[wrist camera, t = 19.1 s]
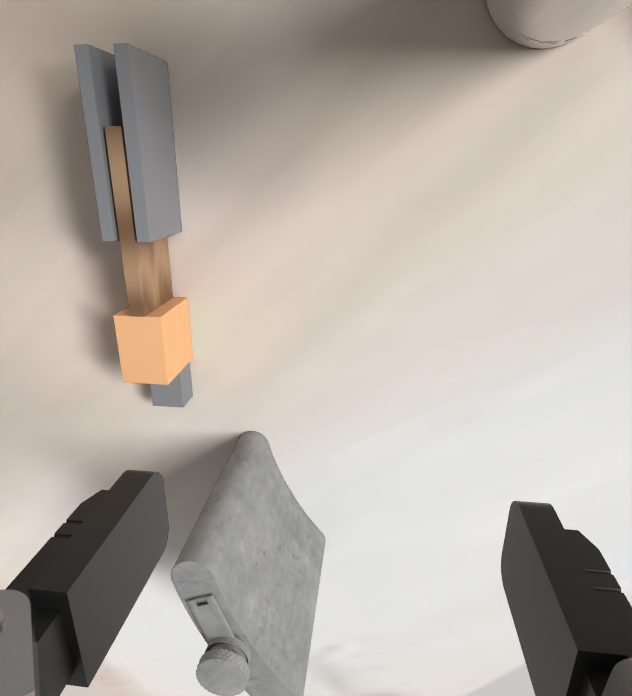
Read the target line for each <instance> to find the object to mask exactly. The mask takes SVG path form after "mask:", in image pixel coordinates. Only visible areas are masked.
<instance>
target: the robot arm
mask: <svg viewBox="0 0 632 696" xmlns="http://www.w3.org/2000/svg"><path fill="white" fill-rule="evenodd" d="M486 3H487V7H488V10H489V13H490V15H491V17H492V19H493V21H494V23H495V24H496V26H497V27H498V28H499V29H500V30H501V31H502V33H503V34H504V35H505V36H507V37H508V38H510V39H511V40H513V41H514V42H516V43H518V44H521V45H523V46H526V47H530V48H540V49H545V48H552V47H558V46H561V45H563V44H566V43H569V42H572V41H573V40H575V39H577V38H578V37H580V36H583V35H585V34H586V33H587V32H588V31H590V30H591V29H593V28H594V27H596V26H598V25H600V24H601V23H603V22H605V21H606V20H608V19H609V18H611V17H612V16H614V15H616V14H617V13H619V12H620V11H622V10H624V9H625V8H627V7H628V6H630V5H631V4H632V0H486ZM168 531H169V524H168V516H167V508H166V499H165V491H164V483H163V478H162V475H161V474H160V473H159V472H149V471H136V470H127V471H125V472H124V473H123V474H122V475H121V477H120V478H119V479H118V480H117V481H116V483H115V484H114V485H113V486H112V487H111V489H110V490H101V491H99V492H98V493H96V494H95V495H93V496H92V497H90V498H89V499H87V500H85V501H84V502H82V503H81V504H80V505H79V506H78V507H77V509H76V510H75V511H74V512H73V513H72V514H71V515H70V516H69V518H68V519H67V522H66V523H63V524H62V526H61V527H60V528H59V529H58V530H57V531H56V532H55V535H54V537H51V538H50V539H49V540H48V542H47V543H46V544H45V545H44V546H43V547H42V548H41V550H40V551H39V552H38V553H37V554H36V555H35V556H34V557H33V559H32V560H31V561H30V562H29V563H28V564H27V565H26V567H25V568H24V569H23V570H22V571H21V572H20V573H19V575H18V576H17V577H16V578H15V579H14V580H13V581H12V583H11V584H10V585H9V586H8V587H7V588H6V589H5V590H0V696H60V694H61V692H62V691H63V689H64V688H65V686H66V685H74V686H81V687H89V685H90V683H91V681H92V680H93V678H94V676H95V674H96V672H97V671H98V669H99V667H100V665H101V663H102V662H103V660H104V658H105V656H106V654H107V653H108V651H109V649H110V647H111V645H112V644H113V642H114V640H115V638H116V636H117V635H118V633H119V631H120V629H121V627H122V626H123V624H124V622H125V620H126V618H127V617H128V615H129V613H130V611H131V610H132V608H133V606H134V604H135V602H136V601H137V599H138V597H139V595H140V593H141V592H142V590H143V588H144V586H145V584H146V583H147V581H148V579H149V577H150V575H151V574H152V572H153V570H154V568H155V566H156V565H157V563H158V561H159V559H160V557H161V556H162V554H163V552H164V549H165V546H166V543H167V539H168ZM501 574H502V582H503V586H504V590H505V593H506V597H507V600H508V604H509V607H510V610H511V614H512V617H513V621H514V624H515V627H516V631H517V634H518V638H519V641H520V644H521V648H522V651H523V655H524V658H525V661H526V665H527V668H528V671H529V675H530V678H531V682H532V685H533V688H534V692H535V695H536V696H632V607H631V605H630V603H629V602H628V600H627V598H626V596H625V595H624V593H621V588H620V586H619V584H618V582H617V581H616V579H615V577H614V575H611V570H610V568H609V567H608V565H607V563H606V561H605V559H604V558H603V556H602V554H601V552H600V551H599V549H598V548H597V547H596V546H595V545H593V544H592V543H591V542H590V541H589V540H588V539H587V538H586V537H585V536H584V535H582V534H581V533H580V532H579V531H578V530H566V529H564V528H563V526H562V524H561V522H560V520H559V518H558V516H557V514H556V512H555V510H554V508H553V506H552V505H551V504H548V503H535V502H522V501H513V502H512V504H511V506H510V511H509V516H508V522H507V528H506V534H505V539H504V545H503V551H502V558H501Z"/></svg>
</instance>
